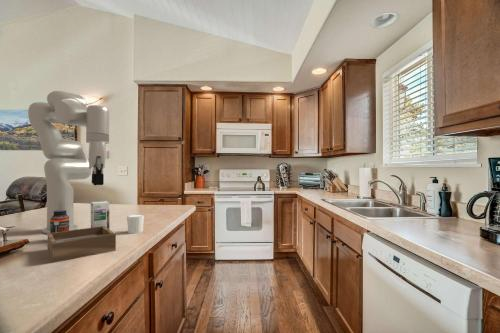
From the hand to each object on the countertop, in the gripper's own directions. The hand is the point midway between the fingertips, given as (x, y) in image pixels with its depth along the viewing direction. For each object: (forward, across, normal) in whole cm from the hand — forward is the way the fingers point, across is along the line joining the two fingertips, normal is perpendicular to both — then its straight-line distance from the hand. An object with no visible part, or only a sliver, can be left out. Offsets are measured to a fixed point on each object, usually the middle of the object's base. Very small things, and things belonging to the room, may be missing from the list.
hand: (97, 184), depth 99 cm
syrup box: (+22, -3, +1) cm, 22 cm away
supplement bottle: (+22, -9, -12) cm, 26 cm away
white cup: (+22, -6, +15) cm, 27 cm away
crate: (+21, +10, -5) cm, 24 cm away
